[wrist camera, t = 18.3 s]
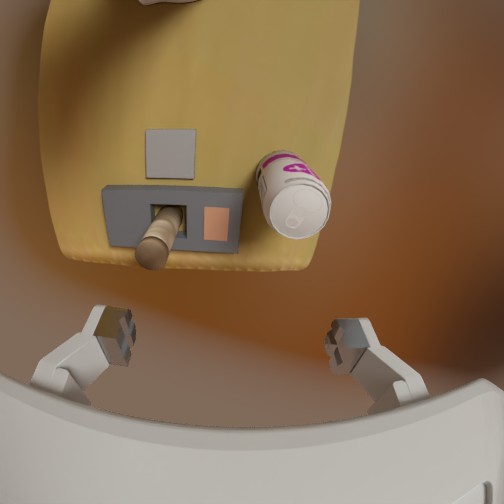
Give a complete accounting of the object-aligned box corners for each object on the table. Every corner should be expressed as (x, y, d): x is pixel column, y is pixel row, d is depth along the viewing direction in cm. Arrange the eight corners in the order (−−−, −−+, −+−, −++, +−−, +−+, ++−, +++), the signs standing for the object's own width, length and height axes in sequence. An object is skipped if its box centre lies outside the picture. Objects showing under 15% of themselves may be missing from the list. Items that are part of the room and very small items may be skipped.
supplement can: (273, 140, 39) (291, 163, 27) (315, 166, 42) (348, 202, 29) (246, 181, 43) (250, 223, 30) (287, 205, 46) (307, 253, 33)
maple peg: (153, 214, 45) (129, 254, 34) (171, 198, 44) (148, 235, 33) (171, 231, 47) (152, 275, 36) (188, 216, 46) (173, 258, 35)
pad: (147, 176, 41) (146, 177, 41) (147, 129, 37) (145, 130, 36) (194, 177, 42) (193, 178, 42) (196, 129, 38) (195, 129, 37)
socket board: (114, 239, 47) (109, 246, 45) (107, 185, 41) (100, 190, 39) (237, 246, 50) (237, 254, 47) (243, 189, 44) (243, 194, 41)
